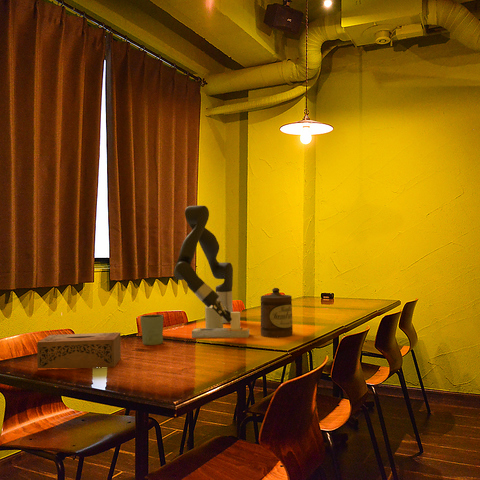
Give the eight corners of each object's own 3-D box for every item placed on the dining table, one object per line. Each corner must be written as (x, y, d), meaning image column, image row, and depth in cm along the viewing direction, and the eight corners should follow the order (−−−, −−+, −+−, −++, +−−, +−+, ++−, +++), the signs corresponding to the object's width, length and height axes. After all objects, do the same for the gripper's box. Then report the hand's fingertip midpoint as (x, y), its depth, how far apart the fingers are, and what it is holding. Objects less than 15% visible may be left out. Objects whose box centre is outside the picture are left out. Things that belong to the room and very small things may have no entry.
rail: (195, 334, 229) (195, 327, 229) (249, 334, 227) (249, 327, 227) (191, 337, 221) (191, 330, 221) (247, 337, 219) (247, 330, 219)
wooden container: (276, 339, 214) (275, 289, 214) (254, 334, 225) (253, 288, 226) (299, 334, 223) (298, 287, 224) (277, 331, 235) (276, 286, 235)
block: (231, 335, 225) (231, 311, 226) (240, 335, 225) (239, 311, 225) (231, 336, 221) (230, 312, 222) (239, 336, 221) (239, 312, 221)
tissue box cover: (120, 359, 181) (120, 332, 181) (114, 368, 166) (113, 339, 167) (50, 361, 178) (50, 334, 179) (37, 371, 164) (37, 342, 164)
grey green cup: (158, 345, 204) (158, 317, 204) (136, 345, 206) (136, 317, 206) (167, 341, 214) (166, 314, 214) (145, 340, 216) (145, 314, 216)
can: (224, 327, 247) (224, 304, 248) (222, 330, 238) (221, 306, 239) (207, 328, 248) (206, 304, 249) (203, 331, 239) (203, 306, 239)
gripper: (210, 290, 218) (235, 315, 216) (214, 288, 232) (238, 311, 231) (198, 302, 218) (224, 327, 217) (203, 299, 232) (227, 322, 231)
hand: (231, 319), depth 224 cm, fingers open, 8 cm apart
